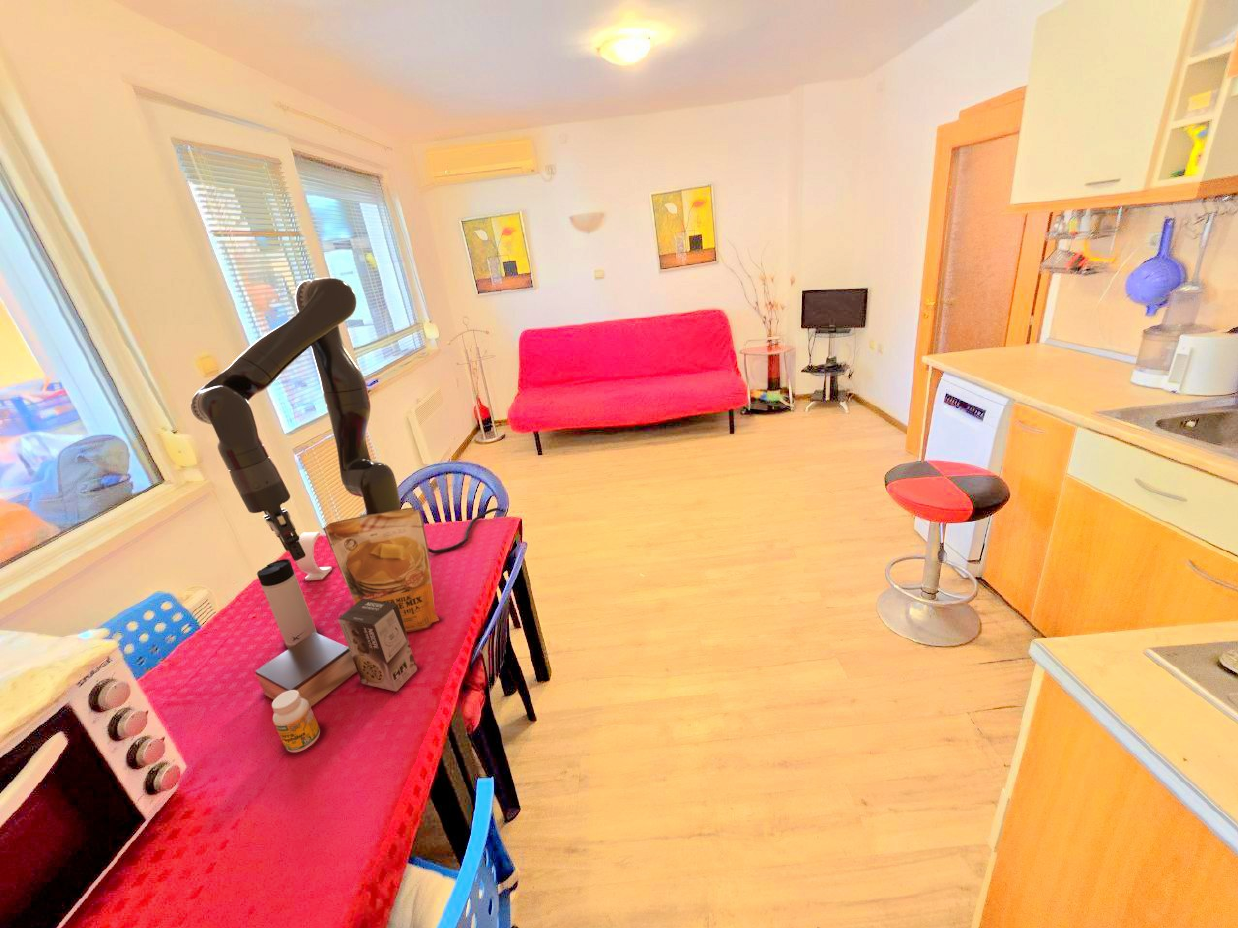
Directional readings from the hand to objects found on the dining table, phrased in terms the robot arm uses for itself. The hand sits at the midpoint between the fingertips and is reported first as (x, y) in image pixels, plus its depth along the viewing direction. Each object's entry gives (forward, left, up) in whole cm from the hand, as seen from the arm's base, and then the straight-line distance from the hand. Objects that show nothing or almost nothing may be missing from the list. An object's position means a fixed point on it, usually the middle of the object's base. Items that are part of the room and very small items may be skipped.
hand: (295, 553), depth 106 cm
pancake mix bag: (-10, +13, -22) cm, 28 cm away
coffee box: (+2, +24, -22) cm, 33 cm away
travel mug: (+3, -4, -22) cm, 23 cm away
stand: (+10, +11, -22) cm, 26 cm away
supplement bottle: (+19, +23, -22) cm, 37 cm away
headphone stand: (-15, -27, -22) cm, 38 cm away
